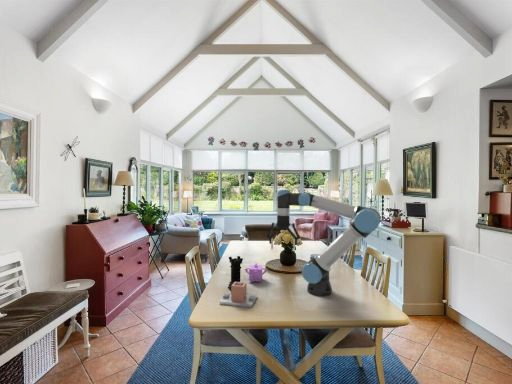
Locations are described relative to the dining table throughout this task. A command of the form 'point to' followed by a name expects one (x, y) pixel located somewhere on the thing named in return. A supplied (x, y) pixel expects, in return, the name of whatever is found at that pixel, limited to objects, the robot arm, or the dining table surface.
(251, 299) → the stand
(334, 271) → the dining table surface
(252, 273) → the teapot
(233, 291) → the box
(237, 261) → the chess piece
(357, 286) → the dining table surface
